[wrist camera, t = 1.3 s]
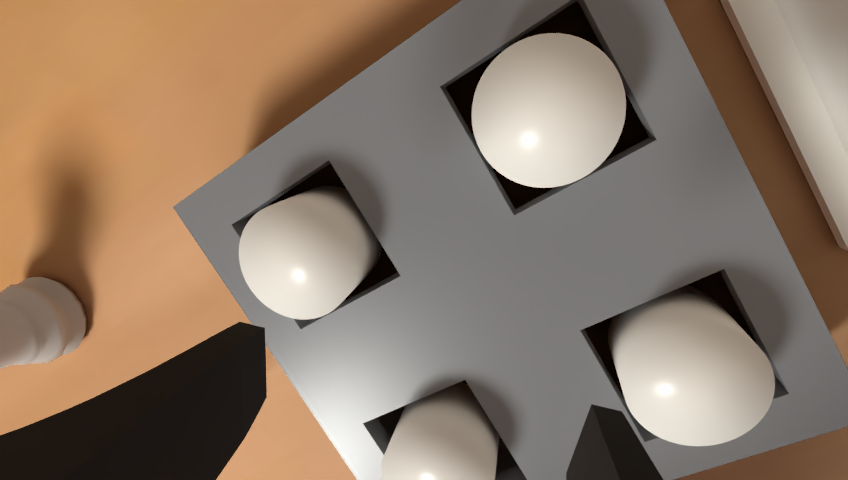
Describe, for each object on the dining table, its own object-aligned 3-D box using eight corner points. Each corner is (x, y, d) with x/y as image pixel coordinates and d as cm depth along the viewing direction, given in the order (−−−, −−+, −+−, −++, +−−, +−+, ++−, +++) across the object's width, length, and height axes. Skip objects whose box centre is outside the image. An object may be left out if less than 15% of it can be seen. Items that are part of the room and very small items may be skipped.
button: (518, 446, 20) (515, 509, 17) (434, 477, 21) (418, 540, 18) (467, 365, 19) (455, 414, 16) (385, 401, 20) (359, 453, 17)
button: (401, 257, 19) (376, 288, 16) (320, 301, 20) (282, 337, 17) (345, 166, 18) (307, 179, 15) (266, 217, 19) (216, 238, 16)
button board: (804, 354, 19) (872, 418, 15) (430, 487, 24) (411, 559, 20) (593, -60, 16) (610, -107, 13) (235, 188, 22) (173, 207, 18)
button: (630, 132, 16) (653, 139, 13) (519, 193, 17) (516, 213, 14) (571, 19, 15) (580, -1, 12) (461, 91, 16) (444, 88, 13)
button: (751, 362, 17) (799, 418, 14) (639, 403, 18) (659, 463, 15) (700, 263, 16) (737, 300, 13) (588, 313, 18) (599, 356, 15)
